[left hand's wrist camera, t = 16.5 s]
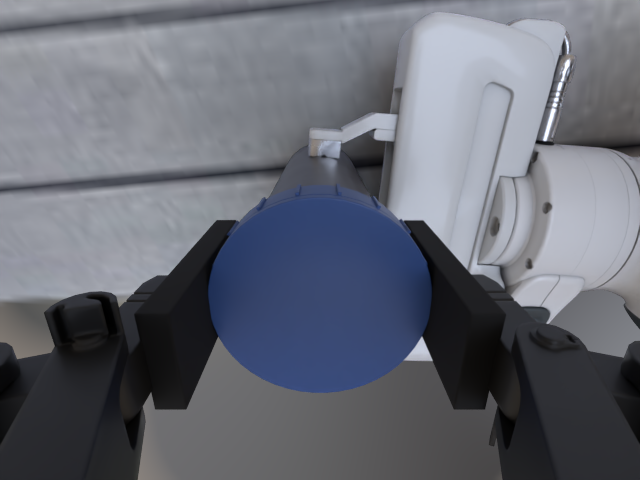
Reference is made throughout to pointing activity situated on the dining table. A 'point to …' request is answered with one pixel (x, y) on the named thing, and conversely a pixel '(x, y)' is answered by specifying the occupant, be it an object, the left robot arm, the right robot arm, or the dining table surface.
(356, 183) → the jar
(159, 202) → the dining table surface
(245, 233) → the lid
